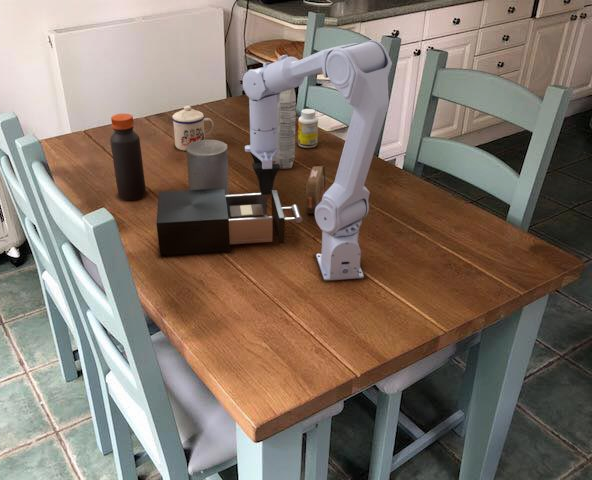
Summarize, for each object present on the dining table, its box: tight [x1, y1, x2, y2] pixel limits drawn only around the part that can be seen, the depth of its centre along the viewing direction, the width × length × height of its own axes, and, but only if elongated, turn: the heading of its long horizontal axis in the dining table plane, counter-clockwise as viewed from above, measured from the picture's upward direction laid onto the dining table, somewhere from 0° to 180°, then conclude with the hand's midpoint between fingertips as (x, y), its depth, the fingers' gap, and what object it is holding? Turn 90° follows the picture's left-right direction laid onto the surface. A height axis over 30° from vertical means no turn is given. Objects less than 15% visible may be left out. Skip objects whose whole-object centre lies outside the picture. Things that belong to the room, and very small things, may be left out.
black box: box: [156, 188, 231, 258], centre depth 137 cm, size 15×15×8 cm
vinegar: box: [109, 113, 147, 201], centre depth 151 cm, size 7×7×20 cm
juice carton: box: [272, 88, 297, 169], centre depth 166 cm, size 9×8×24 cm
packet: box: [229, 204, 264, 219], centre depth 138 cm, size 5×7×4 cm
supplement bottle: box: [297, 108, 319, 149], centre depth 180 cm, size 6×6×10 cm
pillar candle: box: [186, 139, 230, 195], centre depth 150 cm, size 10×10×15 cm
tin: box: [305, 165, 326, 214], centre depth 150 cm, size 15×3×8 cm, turn 168°
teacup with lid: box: [171, 105, 215, 152], centre depth 181 cm, size 12×9×12 cm
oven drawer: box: [226, 189, 303, 245], centre depth 138 cm, size 18×13×6 cm
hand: (264, 186), depth 138 cm, fingers open, 7 cm apart
